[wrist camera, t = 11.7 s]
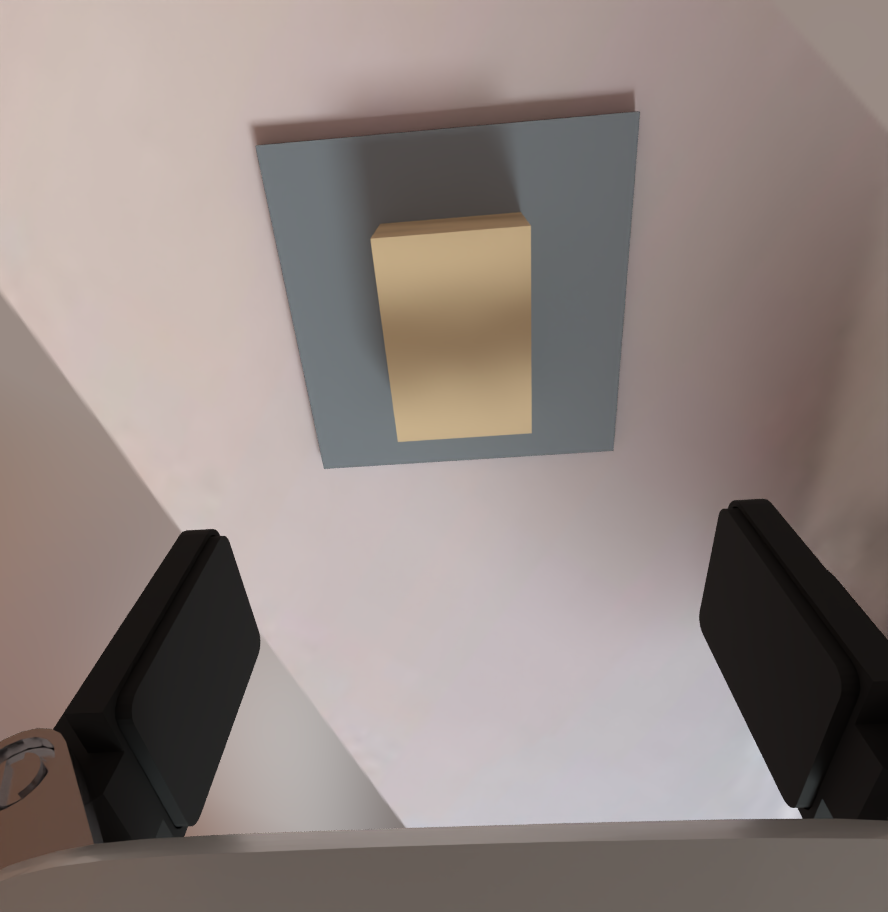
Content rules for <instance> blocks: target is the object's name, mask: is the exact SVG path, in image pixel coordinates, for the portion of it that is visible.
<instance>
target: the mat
mask: <svg viewBox="0 0 888 912" xmlns="http://www.w3.org/2000/svg"><path fill="white" fill-rule="evenodd" d="M639 119H640V112H625V113H614V114H603V115H592V116H580V117H569V118H558V119H547V120H536V121H524V122H513V123H502V124H491V125H479V126H468V127H457V128H446V129H434V130H423V131H412V132H401V133H389V134H378V135H367V136H356V137H344V138H333V139H322V140H311V141H299V142H288V143H277V144H266V145H257V146H256V151H257V156H258V160H259V165H260V170H261V175H262V179H263V184H264V189H265V193H266V198H267V203H268V208H269V212H270V217H271V222H272V226H273V231H274V236H275V240H276V245H277V250H278V255H279V259H280V264H281V269H282V273H283V278H284V283H285V288H286V292H287V297H288V302H289V306H290V311H291V316H292V320H293V325H294V330H295V335H296V339H297V344H298V349H299V353H300V358H301V363H302V367H303V372H304V377H305V382H306V386H307V391H308V396H309V400H310V405H311V410H312V415H313V419H314V424H315V429H316V433H317V438H318V443H319V447H320V452H321V457H322V462H323V466H324V469H330V468H346V467H362V466H378V465H394V464H410V463H426V462H442V461H457V460H473V459H489V458H505V457H521V456H537V455H553V454H569V453H585V452H601V451H613V448H614V436H615V423H616V410H617V398H618V385H619V372H620V360H621V347H622V334H623V322H624V309H625V296H626V284H627V271H628V258H629V246H630V233H631V220H632V208H633V195H634V182H635V170H636V157H637V144H638V131H639ZM517 212H521V213H522V214H523V216H524V217H525V218H526V220H527V221H528V222H529V224H530V225H531V388H532V433H528V434H512V435H497V436H482V437H467V438H451V439H436V440H421V441H405V442H398V439H397V432H396V424H395V417H394V410H393V402H392V395H391V388H390V380H389V373H388V365H387V358H386V351H385V343H384V336H383V329H382V321H381V314H380V306H379V299H378V292H377V284H376V277H375V270H374V262H373V255H372V247H371V240H370V239H371V237H372V235H373V234H374V232H375V231H376V229H377V228H378V226H379V225H380V224H385V223H397V222H409V221H421V220H433V219H445V218H457V217H469V216H481V215H493V214H505V213H517Z"/></svg>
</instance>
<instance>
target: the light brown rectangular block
mask: <svg viewBox="0 0 888 912" xmlns="http://www.w3.org/2000/svg"><path fill="white" fill-rule="evenodd" d="M370 240H371V247H372V255H373V262H374V270H375V277H376V284H377V292H378V299H379V306H380V314H381V321H382V329H383V336H384V343H385V351H386V358H387V365H388V373H389V380H390V388H391V395H392V402H393V410H394V417H395V424H396V432H397V439H398V442H405V441H421V440H436V439H451V438H467V437H482V436H497V435H512V434H528V433H532V388H531V225H530V224H529V222H528V221H527V220H526V218H525V217H524V216H523V214H522V213H521V212H517V213H505V214H493V215H481V216H469V217H457V218H445V219H433V220H421V221H409V222H397V223H385V224H380V225H379V226H378V228H377V229H376V231H375V232H374V234H373V235H372V237H371V239H370Z"/></svg>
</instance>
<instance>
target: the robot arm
mask: <svg viewBox="0 0 888 912" xmlns="http://www.w3.org/2000/svg"><path fill="white" fill-rule="evenodd" d="M699 621H700V627H701V630H702V633H703V635H704V637H705V639H706V641H707V643H708V646H709V648H710V650H711V652H712V654H713V656H714V658H715V660H716V662H717V664H718V666H719V668H720V670H721V672H722V674H723V676H724V678H725V680H726V682H727V684H728V687H729V689H730V691H731V693H732V695H733V697H734V699H735V701H736V703H737V705H738V707H739V709H740V711H741V713H742V715H743V717H744V719H745V721H746V723H747V726H748V728H749V730H750V732H751V734H752V736H753V738H754V740H755V742H756V744H757V746H758V748H759V750H760V752H761V754H762V756H763V758H764V760H765V762H766V764H767V767H768V769H769V771H770V773H771V775H772V777H773V779H774V781H775V783H776V785H777V787H778V789H779V791H780V793H781V795H782V797H783V799H784V801H785V802H786V803H787V804H788V806H790V807H791V808H798V810H799V812H800V814H801V816H802V818H803V819H724V820H683V821H642V822H601V823H562V824H528V825H493V826H460V827H427V828H398V829H397V828H396V829H365V830H339V831H312V832H311V831H309V832H283V833H253V834H229V835H211V836H193V837H192V836H191V837H184V836H185V833H186V830H187V827H188V826H193V825H195V824H196V823H197V821H198V819H199V817H200V815H201V812H202V809H203V807H204V804H205V801H206V798H207V796H208V793H209V790H210V787H211V785H212V782H213V779H214V776H215V773H216V771H217V768H218V765H219V762H220V760H221V757H222V754H223V751H224V748H225V745H226V742H227V740H228V737H229V735H230V732H231V728H232V726H233V723H234V721H235V718H236V715H237V712H238V709H239V707H240V704H241V701H242V698H243V695H244V693H245V690H246V687H247V684H248V682H249V679H250V676H251V673H252V671H253V668H254V665H255V662H256V659H257V656H258V654H259V650H260V634H259V631H258V628H257V625H256V622H255V618H254V615H253V612H252V609H251V606H250V603H249V600H248V597H247V594H246V591H245V588H244V585H243V582H242V579H241V576H240V573H239V570H238V567H237V564H236V561H235V558H234V554H233V551H232V548H231V545H230V542H229V540H228V538H227V537H226V536H220V535H219V533H218V532H217V531H216V530H214V529H206V530H187V531H184V532H182V533H181V534H180V536H179V537H178V539H177V540H176V542H175V543H174V545H173V546H172V548H171V550H170V551H169V553H168V554H167V556H166V557H165V559H164V560H163V562H162V563H161V565H160V566H159V568H158V569H157V571H156V572H155V574H154V576H153V577H152V579H151V580H150V582H149V583H148V585H147V586H146V588H145V590H144V591H143V592H142V594H141V596H140V597H139V599H138V600H137V602H136V603H135V605H134V606H133V608H132V609H131V611H130V612H129V614H128V615H127V617H126V618H125V620H124V622H123V623H122V624H121V626H120V628H119V629H118V631H117V632H116V634H115V635H114V637H113V638H112V640H111V641H110V643H109V644H108V646H107V647H106V649H105V651H104V652H103V654H102V655H101V657H100V658H99V660H98V661H97V663H96V664H95V666H94V668H93V669H92V671H91V672H90V674H89V675H88V677H87V678H86V680H85V681H84V683H83V684H82V686H81V687H80V689H79V691H78V692H77V694H76V695H75V697H74V698H73V700H72V701H71V703H70V704H69V706H68V707H67V709H66V710H65V712H64V714H63V715H62V717H61V718H60V720H59V721H58V723H57V724H56V726H55V727H54V729H47V728H46V729H45V728H36V729H31V730H27V731H22V732H20V733H17V734H15V735H13V736H10V737H8V738H6V739H4V740H2V741H1V742H0V912H888V640H887V639H886V637H885V636H884V635H883V634H882V633H881V631H880V630H879V629H878V628H877V627H876V625H875V624H874V623H873V622H872V621H871V619H870V618H869V617H868V616H867V615H866V613H865V612H864V611H863V610H862V609H861V607H860V606H859V605H858V604H857V603H856V601H855V600H854V599H853V598H852V597H851V596H850V594H849V593H848V592H847V591H846V590H845V588H844V587H843V586H842V585H841V584H840V582H839V581H838V580H837V579H836V578H835V576H833V575H832V574H831V573H830V572H829V571H828V570H826V568H825V567H824V566H823V565H822V564H821V562H820V561H819V560H818V559H817V558H816V556H815V555H814V554H813V553H812V552H811V550H810V549H809V548H808V547H807V546H806V544H805V543H804V542H803V541H802V539H801V538H800V537H799V536H798V535H797V533H796V532H795V531H794V530H793V529H792V527H791V526H790V525H789V524H788V523H787V521H786V520H785V519H784V518H783V517H782V515H781V514H780V513H779V512H778V511H777V509H776V508H775V507H774V506H773V505H772V503H771V502H769V501H768V500H766V499H751V500H734V501H732V502H731V503H730V504H729V507H728V509H722V510H721V511H720V513H719V517H718V522H717V527H716V532H715V537H714V542H713V547H712V552H711V557H710V562H709V567H708V573H707V578H706V583H705V588H704V593H703V598H702V603H701V608H700V614H699Z"/></svg>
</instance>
